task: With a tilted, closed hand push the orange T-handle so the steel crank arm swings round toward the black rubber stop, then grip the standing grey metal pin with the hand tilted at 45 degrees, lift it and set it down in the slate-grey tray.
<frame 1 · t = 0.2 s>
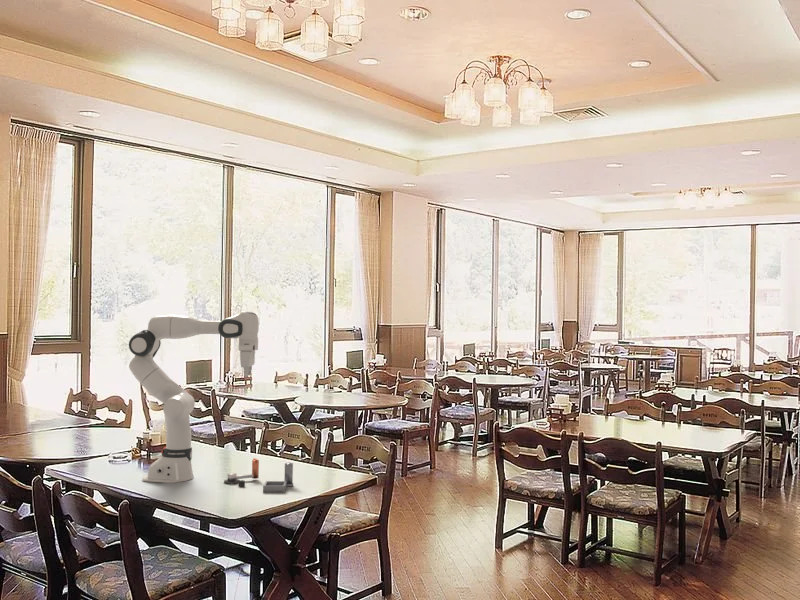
hand: (247, 376, 353), 48 cm above the table, tool pointing down, fingers open, 8 cm apart
crank base: (231, 482, 345), on the table
crank: (243, 469, 348), point 5 cm above the table, hinge at 0.0°
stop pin: (288, 485, 341), on the table
stop block: (241, 486, 338), on the table
tray: (275, 489, 332), on the table
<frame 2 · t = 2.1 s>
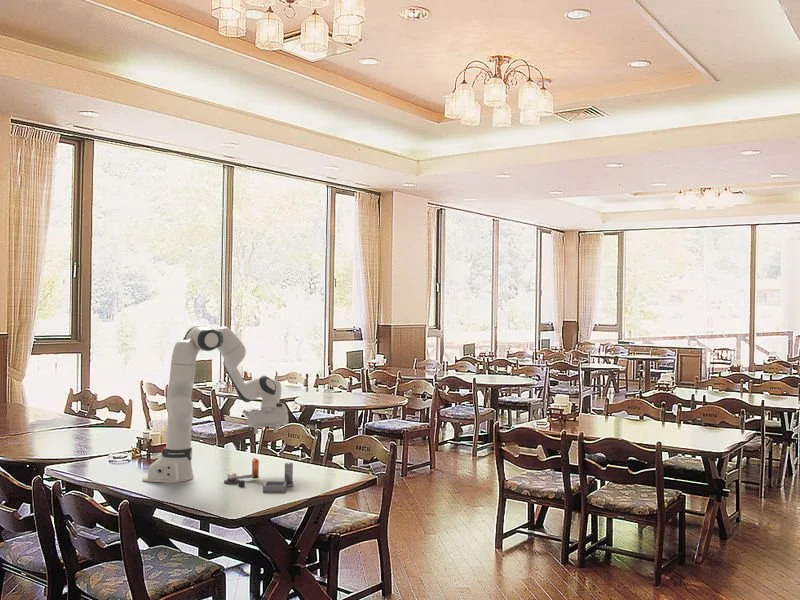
hand: (265, 432, 367), 19 cm above the table, tool tilted 45°, fingers open, 8 cm apart
nothing on the table moved.
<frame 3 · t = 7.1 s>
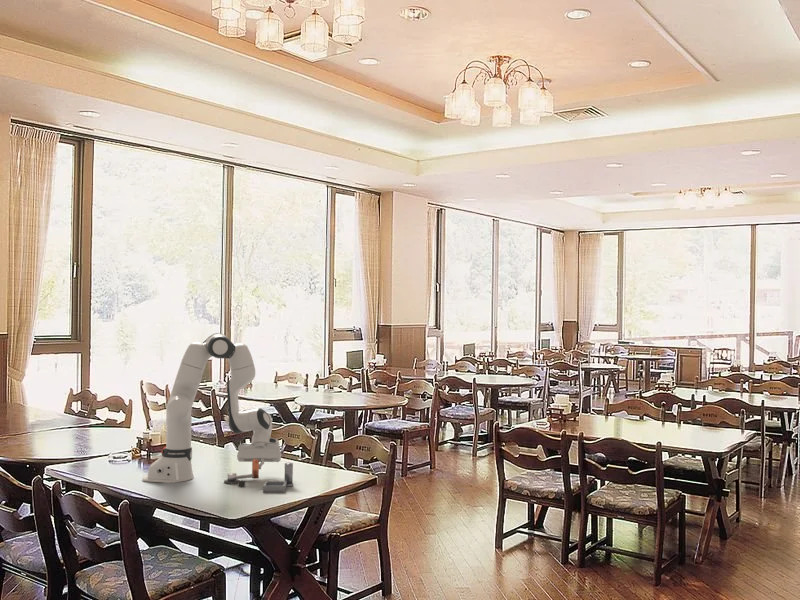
hand: (257, 468, 353), 5 cm above the table, tool tilted 45°, fingers closed
crank: (243, 469, 348), point 5 cm above the table, hinge at -0.6°, touching gripper
everything else where it was.
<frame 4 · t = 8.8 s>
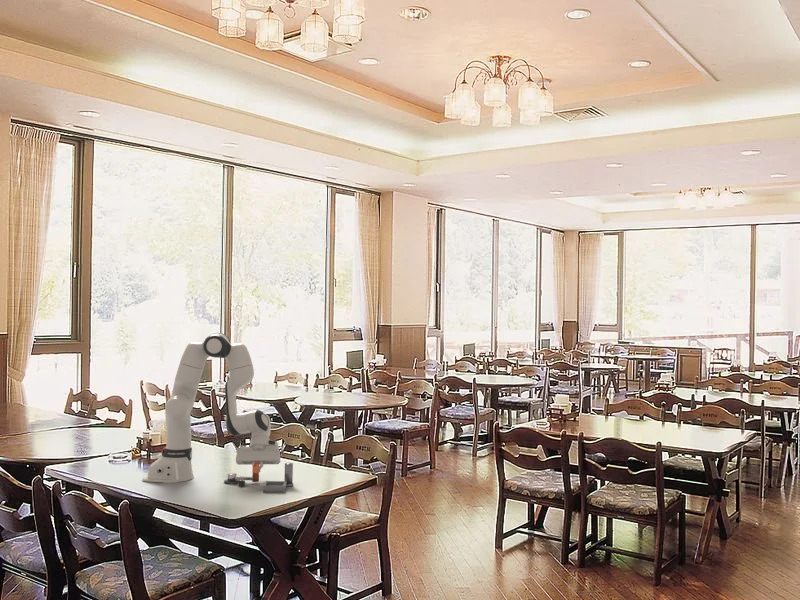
hand: (256, 471, 346), 5 cm above the table, tool tilted 45°, fingers closed, pressing on crank
crank: (243, 471, 344), point 5 cm above the table, hinge at -36.9°, touching gripper
everything else where it was.
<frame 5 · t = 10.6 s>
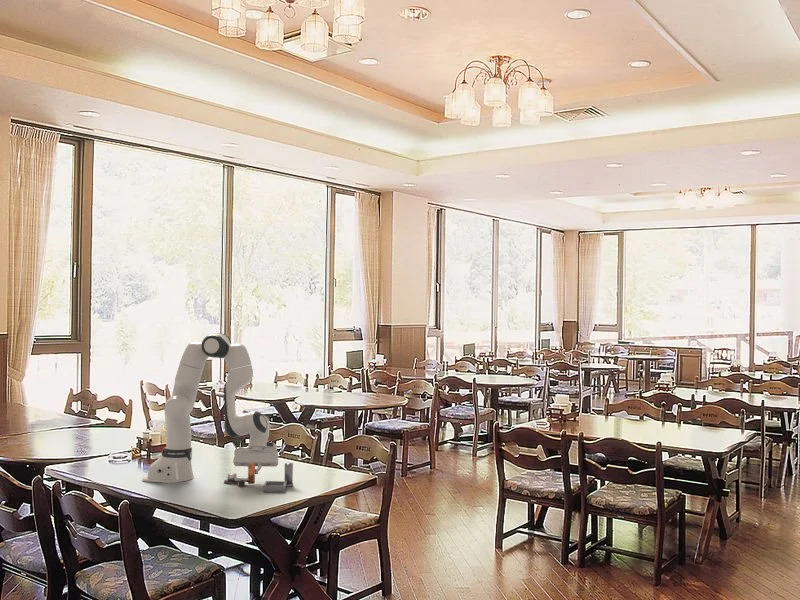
hand: (254, 473, 342), 5 cm above the table, tool tilted 45°, fingers closed
crank: (241, 471, 342), point 5 cm above the table, hinge at -58.0°, touching gripper
everything else where it was.
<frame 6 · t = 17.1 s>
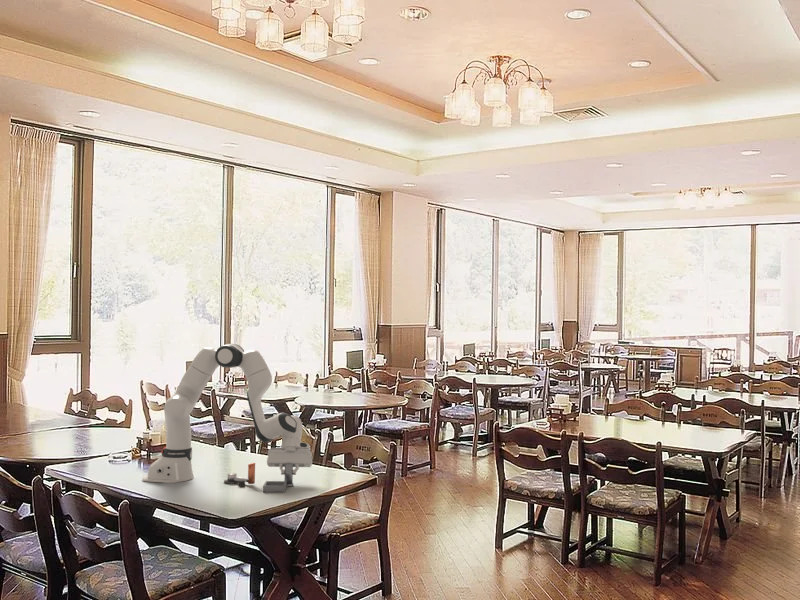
hand: (288, 474, 340), 5 cm above the table, tool tilted 45°, fingers closed on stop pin, 4 cm apart
crank: (241, 471, 342), point 5 cm above the table, hinge at -58.1°
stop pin: (288, 485, 341), on the table, touching gripper
when the fingers open (7 cm above the table, at t = 21.7 s): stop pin stays where it is, resting on tray.
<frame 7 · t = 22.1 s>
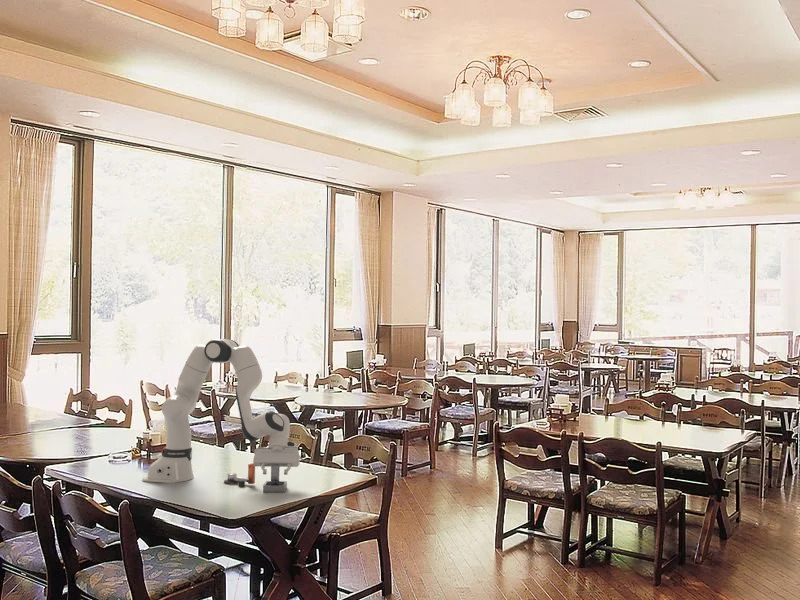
hand: (275, 473, 332), 7 cm above the table, tool tilted 45°, fingers open, 8 cm apart
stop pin: (274, 488, 332), point 1 cm above the table, touching tray
everything else where it was.
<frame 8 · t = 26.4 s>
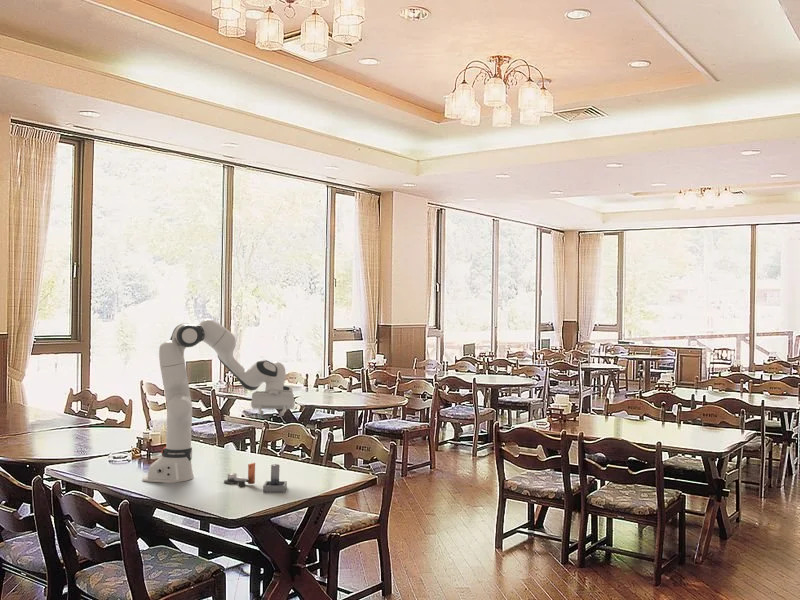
hand: (271, 414, 356), 29 cm above the table, tool tilted 45°, fingers open, 8 cm apart
nothing on the table moved.
at the end: crank at -58° (first picture: +0°); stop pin inside the target area on the tray (0.1 cm from its centre), point 0.8 cm above the tray's base; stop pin tilted 0° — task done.
